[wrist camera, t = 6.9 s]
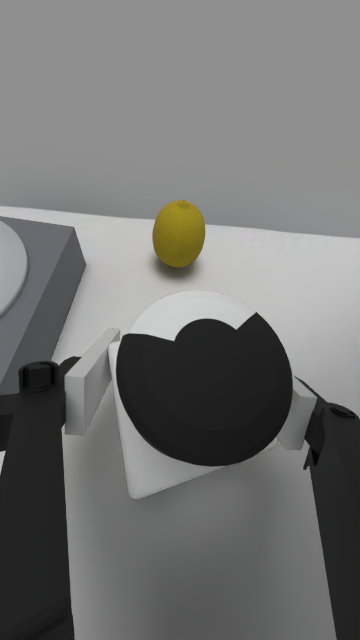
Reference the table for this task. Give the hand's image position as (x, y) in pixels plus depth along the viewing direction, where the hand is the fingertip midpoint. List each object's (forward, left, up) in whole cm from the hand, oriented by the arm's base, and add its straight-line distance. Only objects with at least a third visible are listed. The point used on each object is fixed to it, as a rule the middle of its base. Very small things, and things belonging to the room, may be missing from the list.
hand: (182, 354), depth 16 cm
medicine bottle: (0, +3, -4) cm, 5 cm away
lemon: (+1, -14, -6) cm, 15 cm away
